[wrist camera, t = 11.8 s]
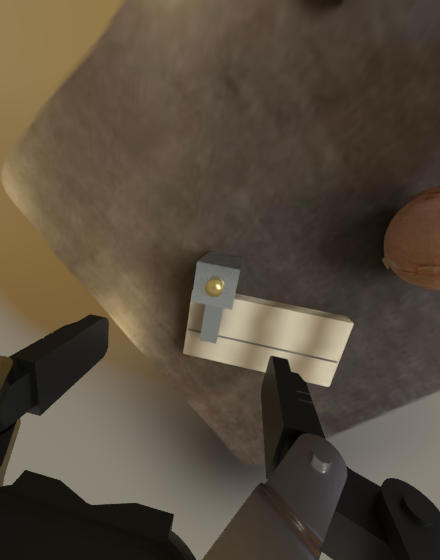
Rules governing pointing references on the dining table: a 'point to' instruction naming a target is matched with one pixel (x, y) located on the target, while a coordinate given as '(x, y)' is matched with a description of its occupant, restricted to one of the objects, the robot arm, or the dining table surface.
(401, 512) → the robot arm
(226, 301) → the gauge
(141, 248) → the dining table surface
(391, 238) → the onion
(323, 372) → the board
